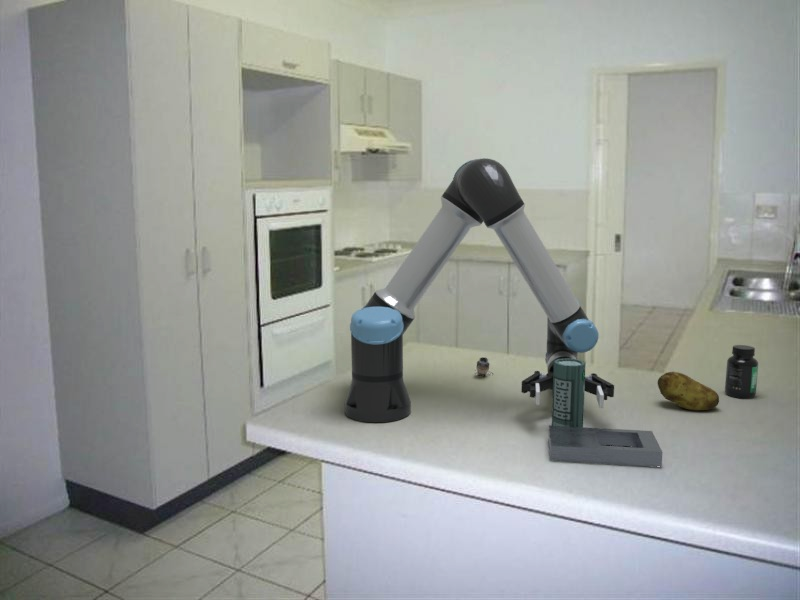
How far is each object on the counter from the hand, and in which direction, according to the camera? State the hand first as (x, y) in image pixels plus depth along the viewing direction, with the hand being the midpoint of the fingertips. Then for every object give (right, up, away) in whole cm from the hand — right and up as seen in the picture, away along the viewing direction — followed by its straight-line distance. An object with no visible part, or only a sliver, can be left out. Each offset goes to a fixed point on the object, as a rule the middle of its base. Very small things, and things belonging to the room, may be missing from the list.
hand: (569, 400), depth 142 cm
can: (+1, -7, +5) cm, 9 cm away
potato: (+32, -5, +19) cm, 38 cm away
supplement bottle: (+49, -3, +29) cm, 56 cm away
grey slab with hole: (+5, -9, -7) cm, 12 cm away
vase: (-12, -1, +45) cm, 47 cm away
